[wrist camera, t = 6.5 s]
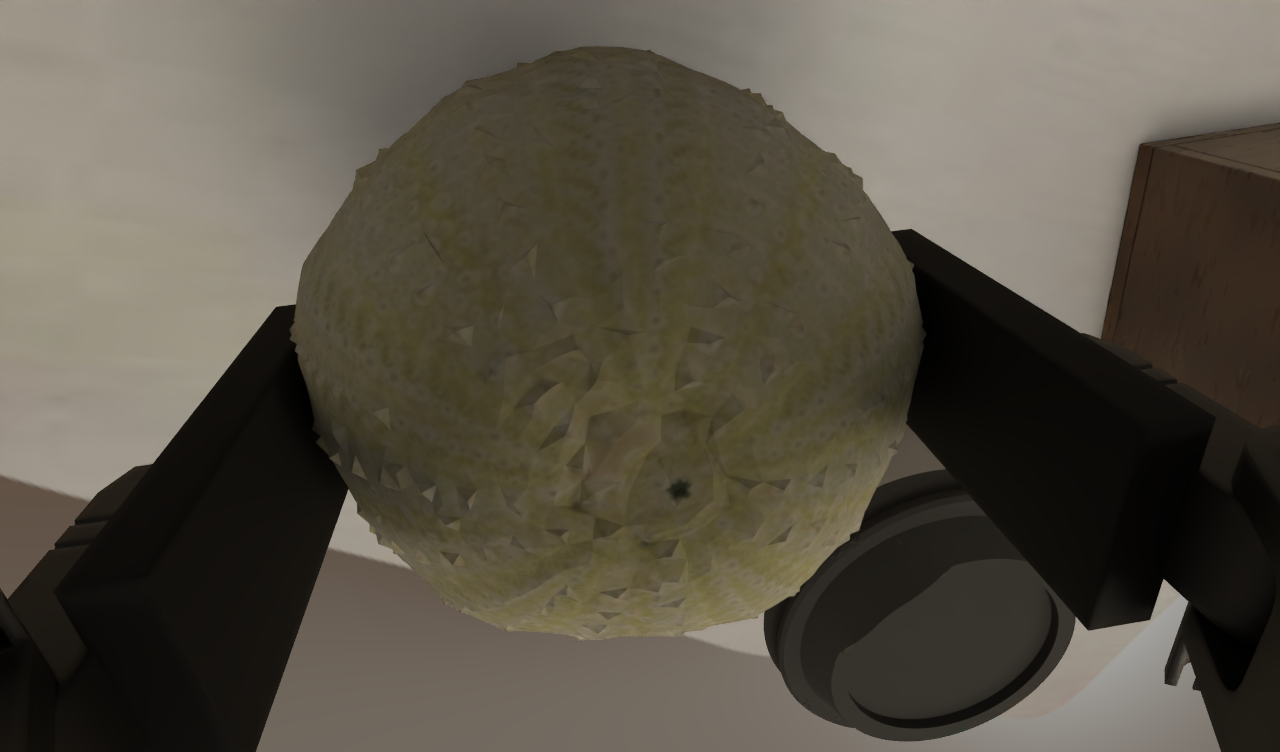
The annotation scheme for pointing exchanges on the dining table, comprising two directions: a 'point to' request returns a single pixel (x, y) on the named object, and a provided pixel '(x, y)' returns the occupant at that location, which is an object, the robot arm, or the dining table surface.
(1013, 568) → the coffee cup
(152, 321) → the dining table surface
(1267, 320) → the chest
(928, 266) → the robot arm
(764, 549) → the sea urchin shell
